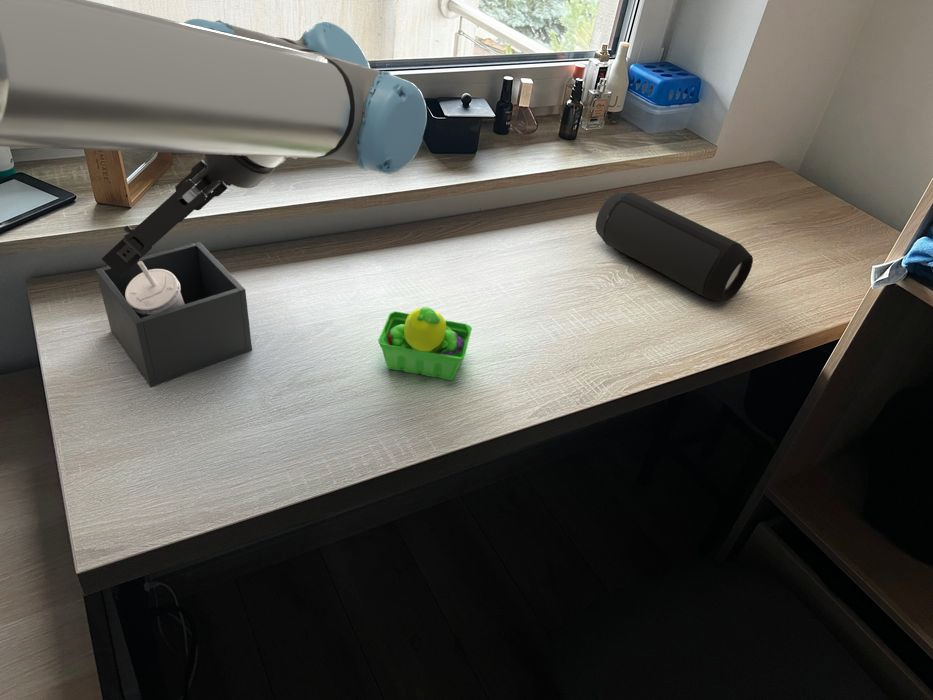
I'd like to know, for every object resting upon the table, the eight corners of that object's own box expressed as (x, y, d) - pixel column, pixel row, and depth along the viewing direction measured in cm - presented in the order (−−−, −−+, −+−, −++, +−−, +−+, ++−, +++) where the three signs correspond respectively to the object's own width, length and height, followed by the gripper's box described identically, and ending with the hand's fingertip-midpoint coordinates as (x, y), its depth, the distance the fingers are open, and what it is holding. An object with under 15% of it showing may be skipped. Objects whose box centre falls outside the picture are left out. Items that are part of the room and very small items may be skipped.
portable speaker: (742, 294, 120) (763, 242, 114) (711, 315, 114) (732, 261, 108) (620, 231, 133) (633, 181, 127) (586, 246, 128) (598, 195, 122)
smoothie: (214, 327, 96) (175, 259, 84) (178, 361, 93) (134, 296, 82) (180, 306, 98) (138, 237, 86) (145, 338, 95) (96, 272, 84)
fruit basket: (469, 353, 101) (477, 285, 94) (459, 394, 94) (467, 325, 87) (389, 339, 101) (392, 271, 94) (373, 379, 95) (375, 309, 88)
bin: (150, 387, 89) (135, 323, 83) (111, 331, 97) (94, 269, 91) (252, 350, 97) (245, 289, 91) (208, 300, 104) (199, 241, 98)
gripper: (224, 219, 69) (110, 317, 79) (317, 127, 88) (215, 215, 99) (163, 157, 66) (53, 266, 76) (273, 76, 85) (173, 172, 96)
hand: (144, 238), depth 88 cm, fingers open, 13 cm apart
